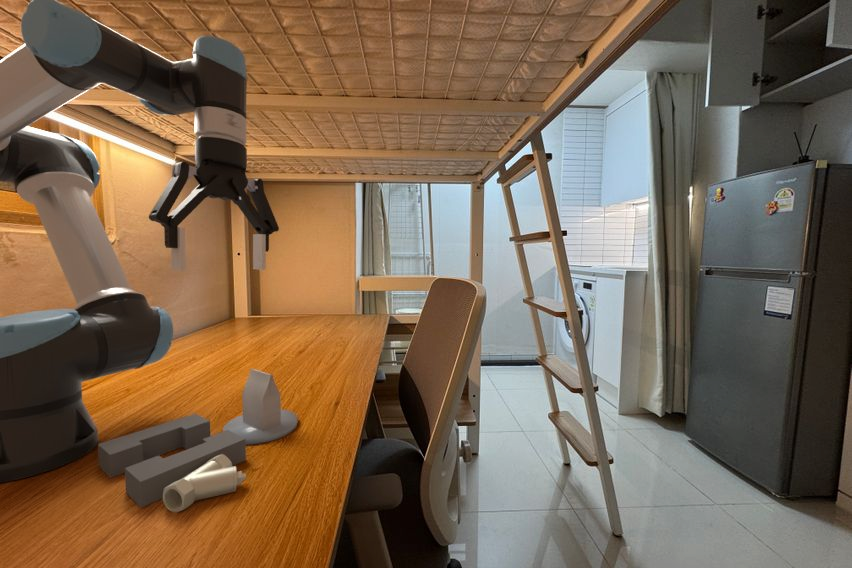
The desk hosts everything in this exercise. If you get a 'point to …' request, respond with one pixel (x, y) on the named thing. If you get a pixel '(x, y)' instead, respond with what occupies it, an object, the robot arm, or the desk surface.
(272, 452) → the desk surface
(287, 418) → the blue-grey round plate
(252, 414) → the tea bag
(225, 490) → the pipe fitting
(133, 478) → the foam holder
